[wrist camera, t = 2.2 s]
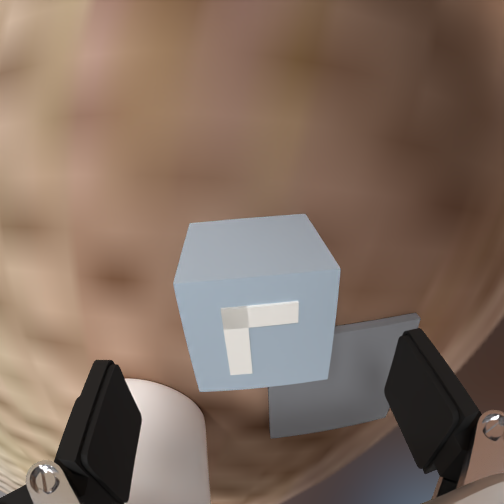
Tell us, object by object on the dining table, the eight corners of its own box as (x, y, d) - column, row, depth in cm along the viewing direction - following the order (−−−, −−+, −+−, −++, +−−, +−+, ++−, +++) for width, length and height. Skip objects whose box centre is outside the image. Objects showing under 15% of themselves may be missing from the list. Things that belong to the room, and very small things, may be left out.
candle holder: (115, 446, 22) (96, 568, 11) (56, 369, 17) (0, 525, 7) (228, 444, 22) (236, 584, 11) (196, 362, 17) (188, 574, 7)
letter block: (190, 222, 14) (172, 285, 9) (304, 213, 14) (341, 270, 9) (205, 318, 16) (200, 396, 12) (303, 309, 16) (327, 383, 12)
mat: (265, 334, 17) (266, 342, 16) (416, 312, 17) (420, 318, 16) (269, 432, 21) (270, 438, 21) (382, 411, 21) (385, 417, 21)
